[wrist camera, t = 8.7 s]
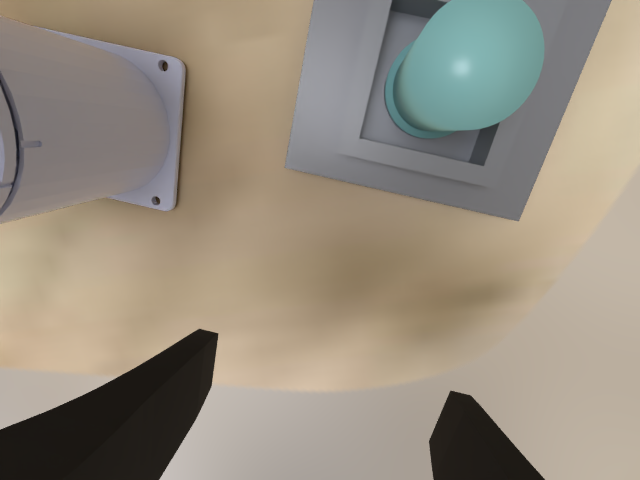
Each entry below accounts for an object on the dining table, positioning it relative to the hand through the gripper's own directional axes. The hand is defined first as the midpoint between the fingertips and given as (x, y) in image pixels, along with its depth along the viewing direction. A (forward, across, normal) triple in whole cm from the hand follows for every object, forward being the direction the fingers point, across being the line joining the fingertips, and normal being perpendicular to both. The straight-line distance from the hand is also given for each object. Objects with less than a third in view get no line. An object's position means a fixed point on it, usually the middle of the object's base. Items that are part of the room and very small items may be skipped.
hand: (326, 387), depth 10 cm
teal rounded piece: (+9, -2, -10) cm, 13 cm away
